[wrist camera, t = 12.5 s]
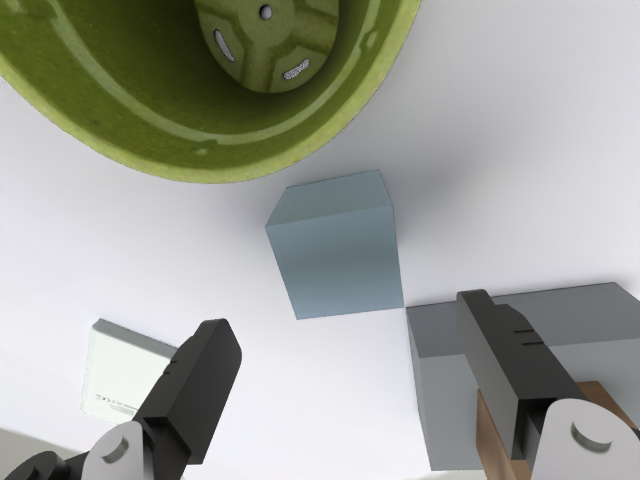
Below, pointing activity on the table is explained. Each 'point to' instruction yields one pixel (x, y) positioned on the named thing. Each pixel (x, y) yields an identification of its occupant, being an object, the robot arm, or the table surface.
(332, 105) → the plant pot
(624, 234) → the table surface
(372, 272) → the blue cube
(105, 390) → the external hard drive
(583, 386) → the walnut cube
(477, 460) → the base plinth
